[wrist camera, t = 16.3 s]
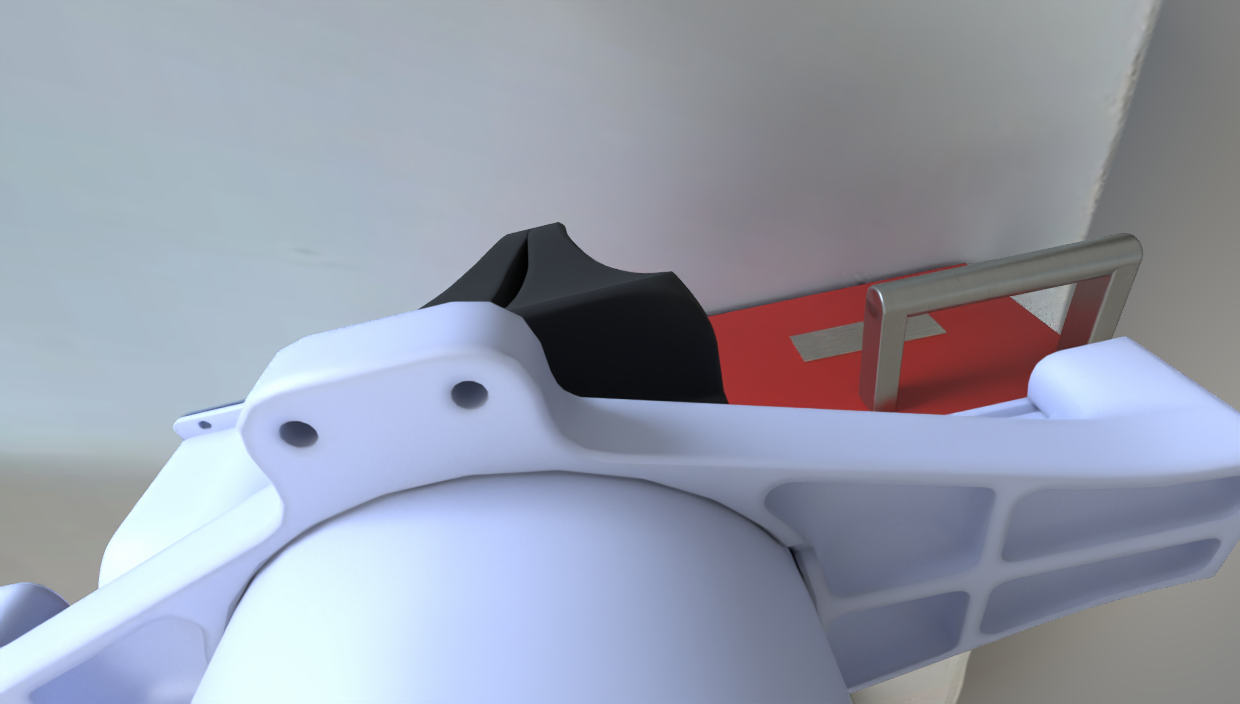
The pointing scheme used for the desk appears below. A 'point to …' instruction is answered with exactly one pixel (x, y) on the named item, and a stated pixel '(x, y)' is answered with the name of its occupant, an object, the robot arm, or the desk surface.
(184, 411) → the desk surface
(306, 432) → the robot arm
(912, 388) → the red drawer
